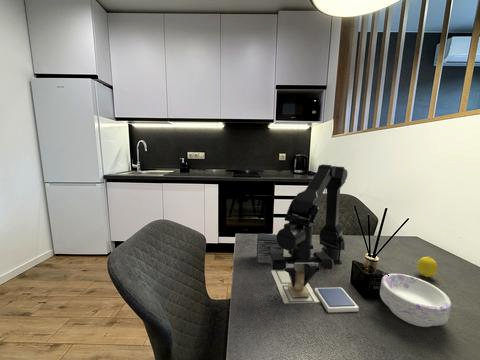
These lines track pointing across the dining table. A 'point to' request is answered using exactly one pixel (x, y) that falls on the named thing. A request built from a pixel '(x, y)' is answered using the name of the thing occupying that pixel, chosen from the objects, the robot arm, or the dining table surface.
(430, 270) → the lemon
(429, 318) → the paper bowls
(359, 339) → the dining table surface
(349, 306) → the ink pad
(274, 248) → the small box
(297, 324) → the dining table surface
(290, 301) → the print sheet
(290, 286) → the stamp
